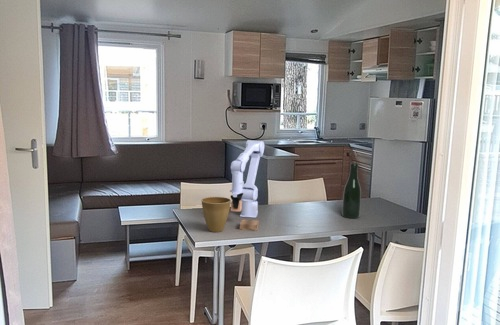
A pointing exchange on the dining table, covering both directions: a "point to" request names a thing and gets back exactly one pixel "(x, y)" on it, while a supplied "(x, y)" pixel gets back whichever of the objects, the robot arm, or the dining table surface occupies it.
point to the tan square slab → (249, 224)
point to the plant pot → (216, 212)
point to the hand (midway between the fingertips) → (236, 207)
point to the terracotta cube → (238, 206)
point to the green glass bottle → (352, 194)
